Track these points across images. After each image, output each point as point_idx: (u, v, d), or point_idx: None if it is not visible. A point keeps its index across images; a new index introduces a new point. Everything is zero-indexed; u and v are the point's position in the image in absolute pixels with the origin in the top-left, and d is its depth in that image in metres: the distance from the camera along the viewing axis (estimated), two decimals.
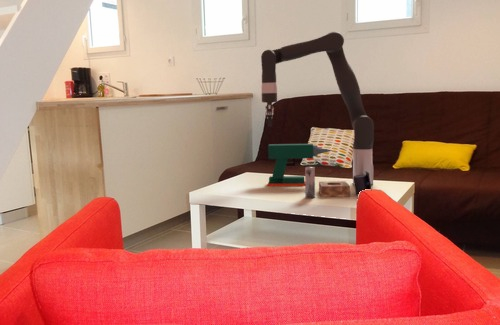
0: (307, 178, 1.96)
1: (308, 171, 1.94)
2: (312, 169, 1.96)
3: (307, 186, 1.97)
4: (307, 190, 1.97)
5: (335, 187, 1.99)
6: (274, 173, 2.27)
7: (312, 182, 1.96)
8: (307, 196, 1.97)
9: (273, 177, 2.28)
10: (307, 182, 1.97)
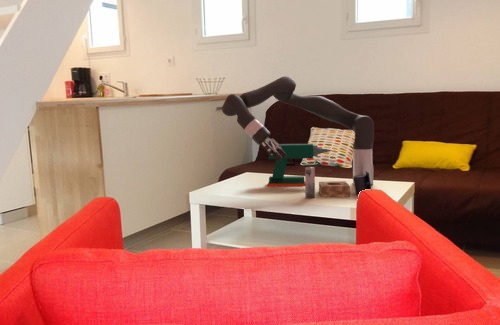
0: (307, 178, 1.96)
1: (308, 171, 1.94)
2: (312, 169, 1.96)
3: (307, 186, 1.97)
4: (307, 190, 1.97)
5: (335, 187, 1.99)
6: (274, 173, 2.27)
7: (312, 182, 1.96)
8: (307, 196, 1.97)
9: (273, 177, 2.28)
10: (307, 182, 1.97)
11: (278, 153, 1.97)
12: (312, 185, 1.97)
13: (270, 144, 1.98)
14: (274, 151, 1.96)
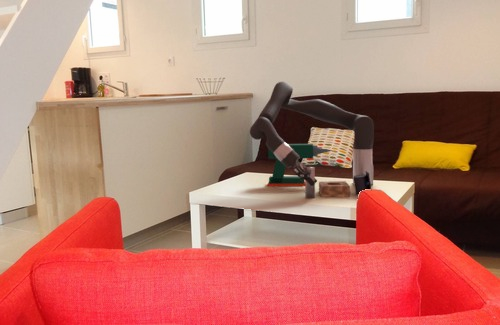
0: None
1: (308, 171, 1.94)
2: (312, 169, 1.96)
3: (307, 186, 1.97)
4: (307, 190, 1.97)
5: (335, 187, 1.99)
6: (274, 173, 2.27)
7: None
8: (307, 196, 1.97)
9: (273, 177, 2.28)
10: (307, 182, 1.97)
11: None
12: None
13: (301, 169, 1.96)
14: (307, 176, 1.95)
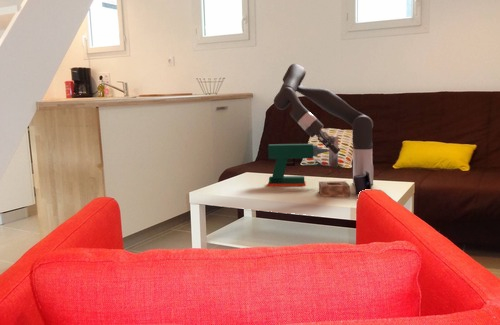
0: None
1: (332, 139, 1.99)
2: (336, 137, 2.00)
3: (331, 154, 2.02)
4: (331, 158, 2.02)
5: (335, 187, 1.99)
6: (274, 173, 2.27)
7: None
8: (331, 164, 2.02)
9: (273, 177, 2.28)
10: None
11: None
12: None
13: (325, 137, 2.01)
14: (331, 144, 1.99)
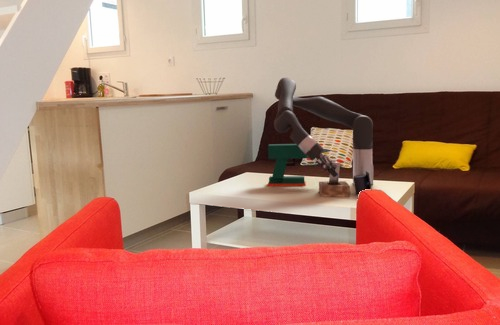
0: None
1: (334, 166, 2.00)
2: (338, 164, 2.02)
3: (331, 180, 2.03)
4: (331, 184, 2.04)
5: (335, 187, 1.99)
6: (274, 173, 2.27)
7: (336, 177, 2.03)
8: None
9: (273, 177, 2.28)
10: (331, 176, 2.03)
11: (333, 169, 2.00)
12: (336, 180, 2.03)
13: (325, 160, 2.02)
14: (330, 168, 2.00)
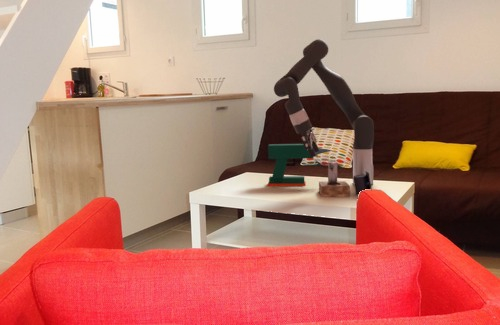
0: (330, 173, 2.03)
1: (331, 166, 2.01)
2: (335, 164, 2.03)
3: (330, 181, 2.04)
4: (330, 184, 2.04)
5: (335, 187, 1.99)
6: (274, 173, 2.27)
7: (335, 177, 2.03)
8: None
9: (273, 177, 2.28)
10: (330, 177, 2.04)
11: (313, 150, 2.03)
12: (335, 180, 2.03)
13: (309, 139, 2.03)
14: (311, 148, 2.02)
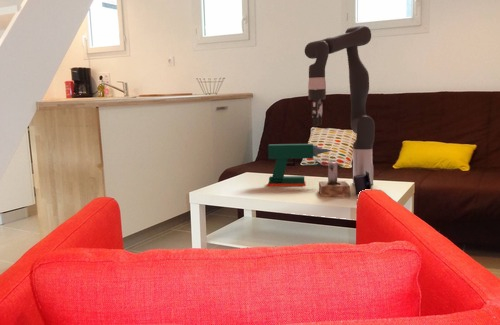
0: (330, 173, 2.03)
1: (331, 166, 2.01)
2: (335, 164, 2.03)
3: (330, 181, 2.04)
4: (330, 184, 2.04)
5: (335, 187, 1.99)
6: (274, 173, 2.27)
7: (335, 177, 2.03)
8: None
9: (273, 177, 2.28)
10: (330, 177, 2.04)
11: (318, 120, 1.99)
12: (335, 180, 2.03)
13: (318, 108, 2.00)
14: (316, 116, 1.98)
